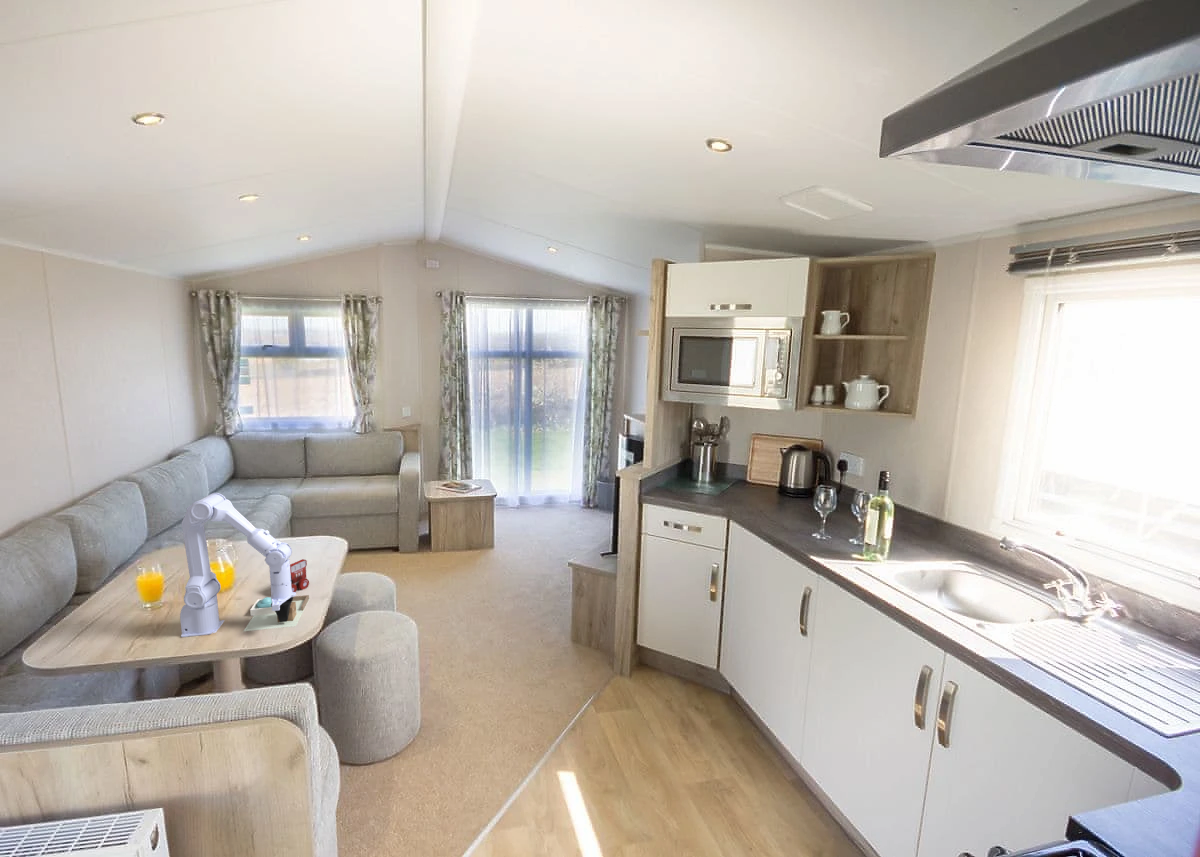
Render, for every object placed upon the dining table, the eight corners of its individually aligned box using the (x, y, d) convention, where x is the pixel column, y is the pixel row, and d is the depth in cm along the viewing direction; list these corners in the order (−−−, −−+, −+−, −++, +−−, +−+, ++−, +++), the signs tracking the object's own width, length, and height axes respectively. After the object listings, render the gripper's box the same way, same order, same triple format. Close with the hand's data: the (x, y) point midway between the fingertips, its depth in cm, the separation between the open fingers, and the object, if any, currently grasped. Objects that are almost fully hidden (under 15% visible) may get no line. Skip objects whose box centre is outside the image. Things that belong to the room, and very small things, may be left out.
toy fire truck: (269, 595, 200) (267, 568, 198) (300, 582, 211) (298, 556, 210) (283, 599, 197) (281, 572, 196) (313, 585, 209) (311, 559, 207)
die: (277, 622, 181) (276, 608, 180) (281, 615, 185) (280, 602, 184) (293, 620, 182) (292, 607, 181) (297, 613, 186) (296, 600, 185)
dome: (255, 612, 185) (254, 602, 185) (260, 604, 191) (259, 594, 190) (274, 610, 187) (273, 600, 186) (278, 602, 192) (278, 593, 192)
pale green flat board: (240, 633, 175) (239, 625, 174) (260, 603, 194) (259, 596, 193) (295, 627, 179) (295, 619, 178) (310, 599, 198) (309, 592, 197)
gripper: (288, 590, 172) (291, 630, 174) (300, 571, 185) (302, 609, 188) (263, 592, 170) (266, 633, 172) (276, 573, 183) (279, 611, 186)
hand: (283, 621), depth 180 cm, fingers closed
